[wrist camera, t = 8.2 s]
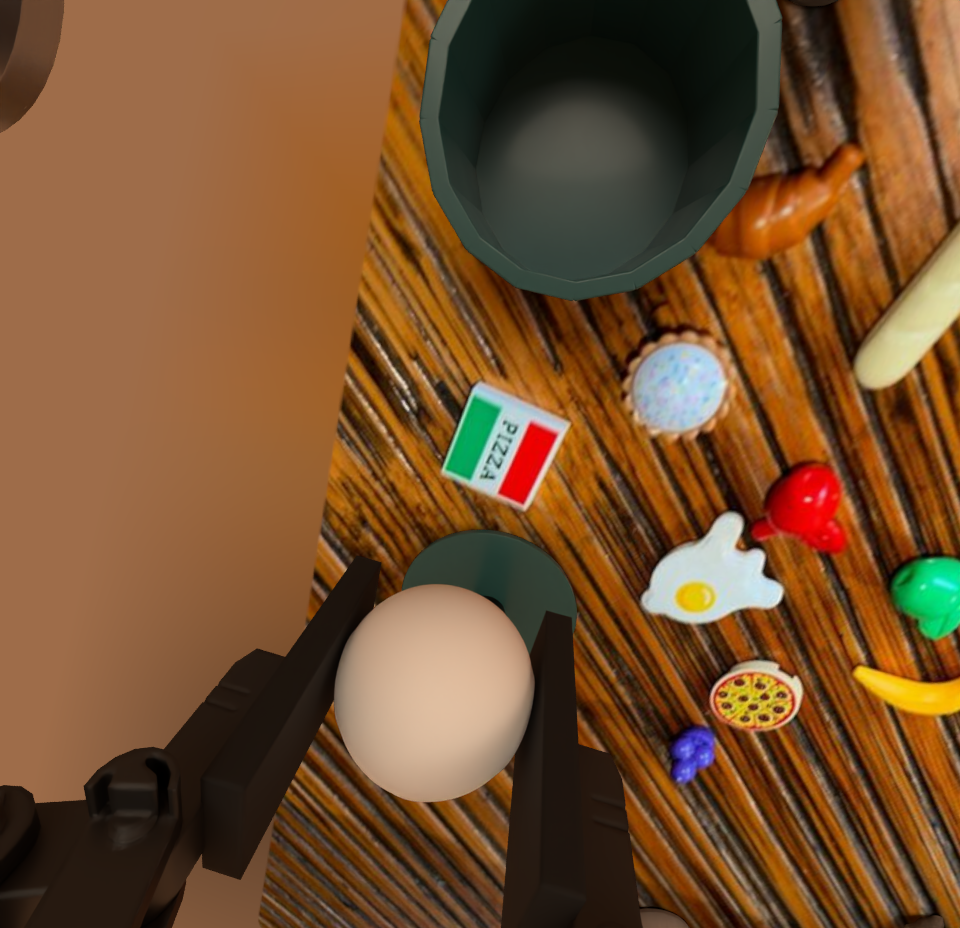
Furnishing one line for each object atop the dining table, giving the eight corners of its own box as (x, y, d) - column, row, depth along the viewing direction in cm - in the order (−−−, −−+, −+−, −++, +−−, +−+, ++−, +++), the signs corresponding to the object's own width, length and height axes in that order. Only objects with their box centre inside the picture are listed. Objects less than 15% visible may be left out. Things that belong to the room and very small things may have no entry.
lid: (394, 640, 36) (346, 748, 28) (420, 504, 31) (370, 585, 23) (549, 685, 36) (546, 810, 27) (599, 553, 31) (616, 655, 22)
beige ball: (371, 652, 15) (292, 816, 11) (385, 528, 13) (295, 662, 9) (518, 690, 15) (503, 876, 10) (554, 569, 13) (555, 730, 8)
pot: (447, 266, 25) (399, 260, 18) (493, 1, 21) (456, -164, 13) (650, 314, 25) (693, 330, 17) (742, 51, 20) (857, -91, 13)
